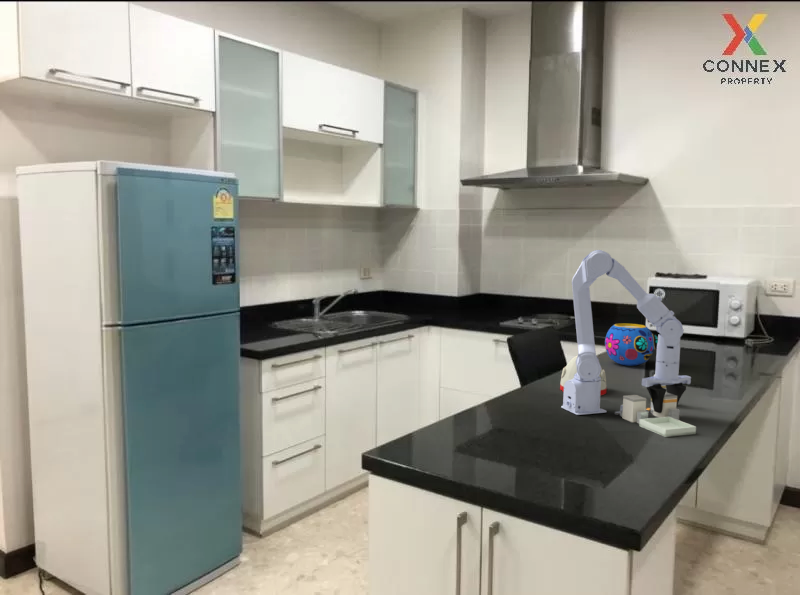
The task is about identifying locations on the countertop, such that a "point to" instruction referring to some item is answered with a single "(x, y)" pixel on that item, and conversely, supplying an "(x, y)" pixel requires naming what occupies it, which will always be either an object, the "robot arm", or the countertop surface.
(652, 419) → the tray
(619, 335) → the ceramic pot
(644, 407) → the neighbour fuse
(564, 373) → the kitchen timer
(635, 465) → the countertop surface
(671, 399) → the white box with band
